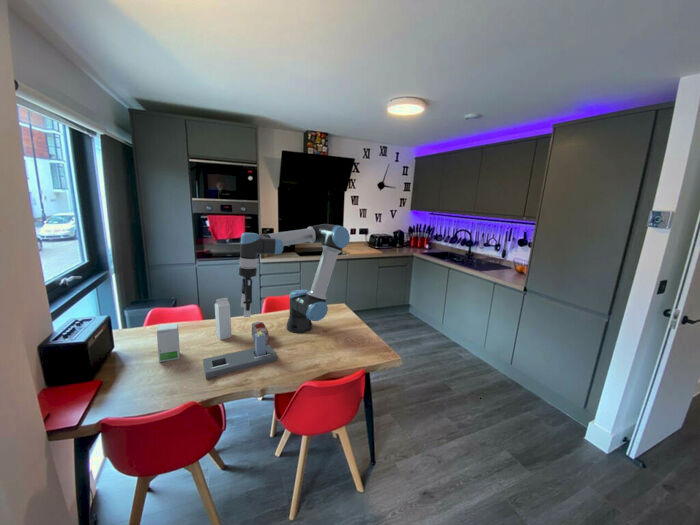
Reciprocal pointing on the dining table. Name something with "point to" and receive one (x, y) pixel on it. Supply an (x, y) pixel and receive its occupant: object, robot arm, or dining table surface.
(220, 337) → the milk
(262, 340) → the plug
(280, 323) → the dining table surface
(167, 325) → the skincare box
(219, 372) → the panel
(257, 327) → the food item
